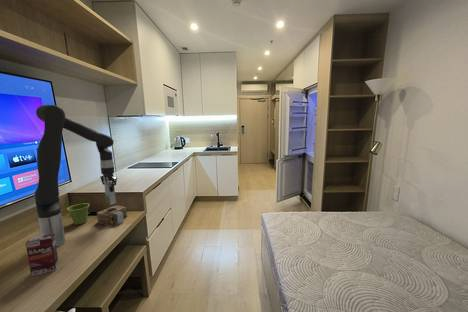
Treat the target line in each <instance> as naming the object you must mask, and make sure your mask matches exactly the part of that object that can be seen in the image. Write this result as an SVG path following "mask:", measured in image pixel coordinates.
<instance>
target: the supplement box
mask: <svg viewBox="0 0 468 312" xmlns="http://www.w3.org/2000/svg"><path fill="white" fill-rule="evenodd" d="M25 247H26V253H27V259H28V265H29V272H30V277H34V276H38V275H42V274H45V273H46V274H47V273H49V272H54V271H57V269H58V267H59V258H58V257H59V256H58V248H57V247H56V240H55V233H54V234H49V235H44V236H39V235H38V236H35V237H30V238H28V240H27V241H26V242H25Z"/></svg>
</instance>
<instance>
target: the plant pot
mask: <svg viewBox="0 0 468 312" xmlns="http://www.w3.org/2000/svg"><path fill="white" fill-rule="evenodd" d="M89 207H90V203H88V202H87V203H79V204H78V203H77V204H73V205H71V206H69V207H67V208H66V210H67V211H68V212H69V214H70V218H71V219H72V223H73V225H75V226H77V225H78V226H79V225H83V224H85V223H86V222H87V221H88V216H89V214H88V213H89Z"/></svg>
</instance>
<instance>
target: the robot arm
mask: <svg viewBox="0 0 468 312" xmlns="http://www.w3.org/2000/svg"><path fill="white" fill-rule="evenodd" d="M35 114H36V117H37V118H38V119H39V120H40V121H42V122H44V131H43V135H42V137H41V139H40V140H39V141H40V142H39V143H38V147H37V149H36V151H37V152H36V161H37V162H36V165H37V173H38V184H37V188H36V189H35V191H34V201H35V207H36V212H37V217H38V225H39V230H38V237H39V236H44V235H49V234H54V233H55V240H56V248H57V247H59V246H62V245H63V244H65V242H66V236H65V235H66V234H65V229H64V222H63V216H62V215H63V214H62V208H61V204H60V198H59V197H60V191H59V175H60V174H59V173H60V168H61V160H62V145H63V143H62V142H63V131H64V130H63V129H65V130H67V131H69V132H71V133H73V134H76V135H77V136H80V138H83V139H85V140H87V141H90V142H95V145H96V148H97V151H98V153H99V160H100V162H99V166H100V173H101V174H102V175H101V176H100V181H101V183H102V185H103V186H104V184H107V183H108V184H109V185H110V192H113V191H114V188H115V186H117V181H118V176H114V174H115V163H114V159H113V156H114V155H113V151H111V150H110V149H109V148H111V147H113V146H114V139H113V138H112V137H111V136H110V135H107V134H104V133H102V132H100V131H97V130H96V129H94V128H92V127H89V126H88V125H86V124H83V123H81V122H79V121H75V120H73V119H72V118H69V117H68V116H66V113H65V111H64V109H63V108H62V107H61V106H58V105H56V104H44V105H40V106H38V107H37V108H36V110H35ZM111 183H112V184H111Z"/></svg>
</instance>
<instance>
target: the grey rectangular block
mask: <svg viewBox="0 0 468 312" xmlns="http://www.w3.org/2000/svg"><path fill="white" fill-rule="evenodd" d="M112 218H113V224H115V225H120V224H123V223H124V218H123V212H120V211H118V212H115V213H113V216H112Z"/></svg>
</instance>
